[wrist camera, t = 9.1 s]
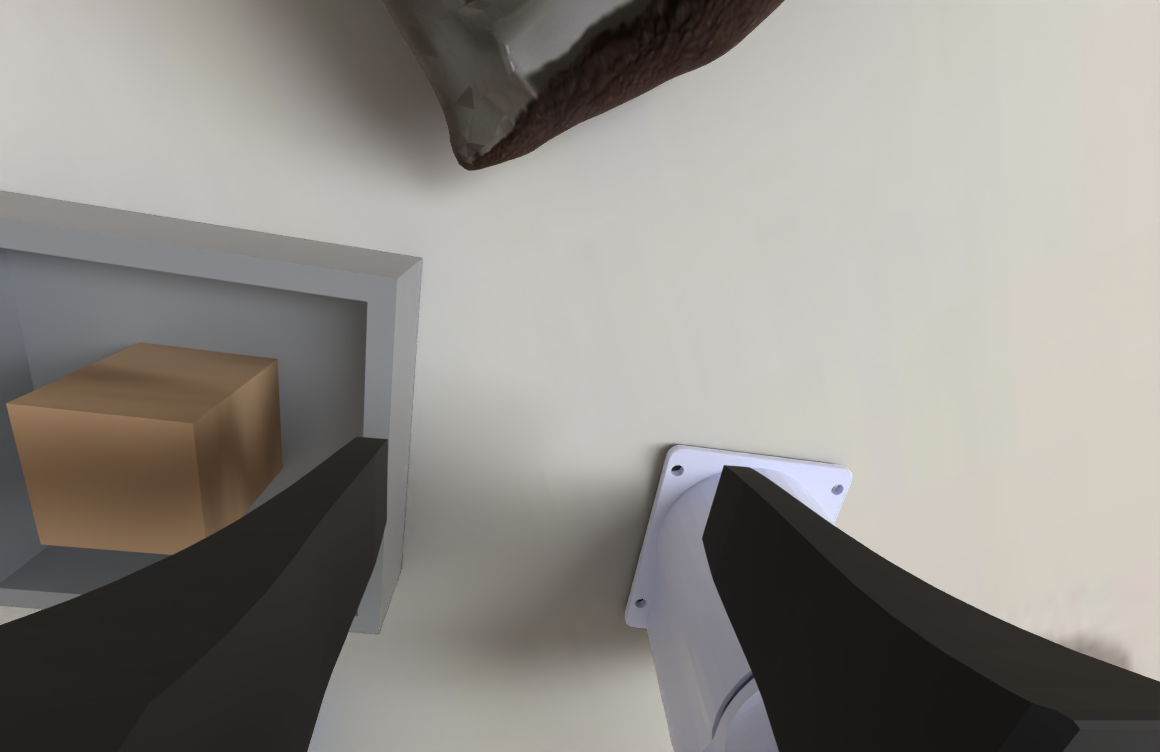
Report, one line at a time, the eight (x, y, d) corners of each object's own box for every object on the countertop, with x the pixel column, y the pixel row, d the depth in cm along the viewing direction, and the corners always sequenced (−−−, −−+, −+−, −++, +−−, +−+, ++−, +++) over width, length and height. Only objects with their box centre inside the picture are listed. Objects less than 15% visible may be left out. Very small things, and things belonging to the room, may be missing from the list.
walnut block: (283, 468, 21) (207, 557, 16) (156, 455, 20) (40, 544, 16) (277, 359, 19) (192, 423, 14) (139, 342, 19) (5, 403, 14)
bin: (401, 568, 24) (379, 634, 20) (58, 537, 22) (-27, 603, 19) (422, 258, 19) (397, 278, 15) (-18, 188, 17) (-150, 194, 14)
